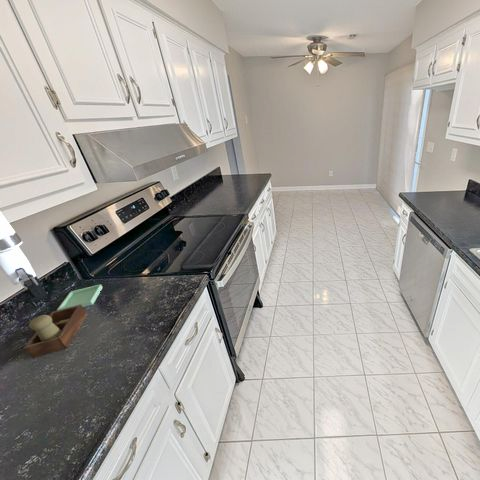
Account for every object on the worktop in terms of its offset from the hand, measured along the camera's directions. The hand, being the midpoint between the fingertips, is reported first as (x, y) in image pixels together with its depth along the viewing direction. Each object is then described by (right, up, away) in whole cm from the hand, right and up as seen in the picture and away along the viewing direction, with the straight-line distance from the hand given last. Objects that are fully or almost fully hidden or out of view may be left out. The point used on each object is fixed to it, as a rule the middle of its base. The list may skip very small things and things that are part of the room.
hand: (37, 291), depth 78 cm
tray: (-14, -9, +30) cm, 34 cm away
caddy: (-6, -18, +13) cm, 23 cm away
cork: (-4, -19, +10) cm, 22 cm away
